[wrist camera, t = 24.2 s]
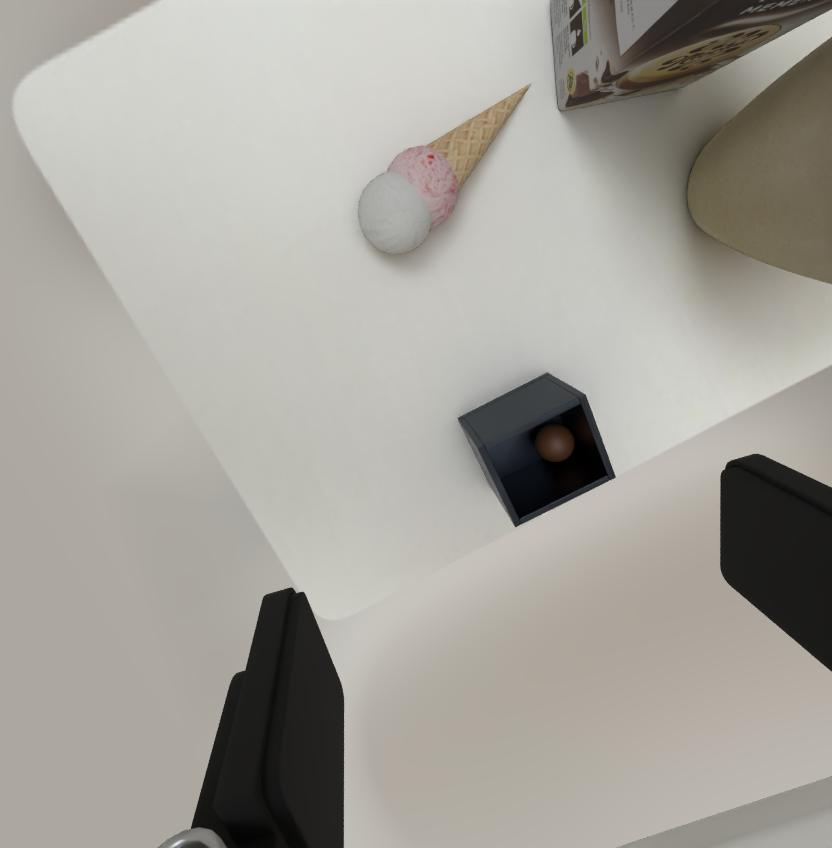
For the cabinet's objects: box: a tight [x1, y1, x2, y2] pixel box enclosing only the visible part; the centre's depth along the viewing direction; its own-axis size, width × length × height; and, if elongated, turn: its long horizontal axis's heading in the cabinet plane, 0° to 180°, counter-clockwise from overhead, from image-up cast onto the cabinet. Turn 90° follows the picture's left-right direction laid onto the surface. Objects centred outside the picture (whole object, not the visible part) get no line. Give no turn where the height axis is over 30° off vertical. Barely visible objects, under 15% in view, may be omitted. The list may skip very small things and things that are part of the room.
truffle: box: [535, 424, 575, 462], centre depth 37 cm, size 3×3×3 cm
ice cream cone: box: [358, 84, 531, 254], centre depth 30 cm, size 5×5×15 cm
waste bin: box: [458, 373, 616, 527], centre depth 35 cm, size 8×7×6 cm
